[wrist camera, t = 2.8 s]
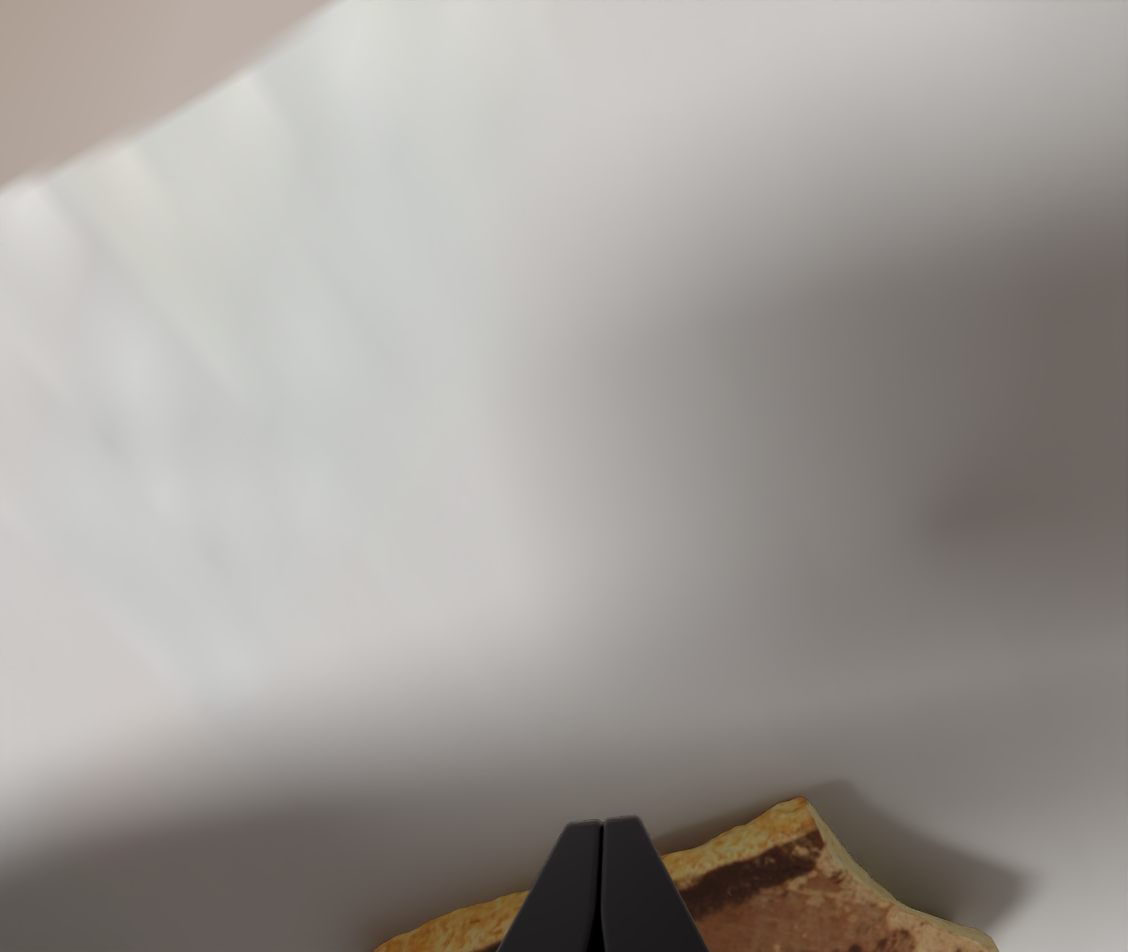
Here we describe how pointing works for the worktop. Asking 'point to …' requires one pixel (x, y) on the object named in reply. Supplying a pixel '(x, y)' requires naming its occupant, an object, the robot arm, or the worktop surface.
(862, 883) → the shard
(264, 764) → the worktop surface
